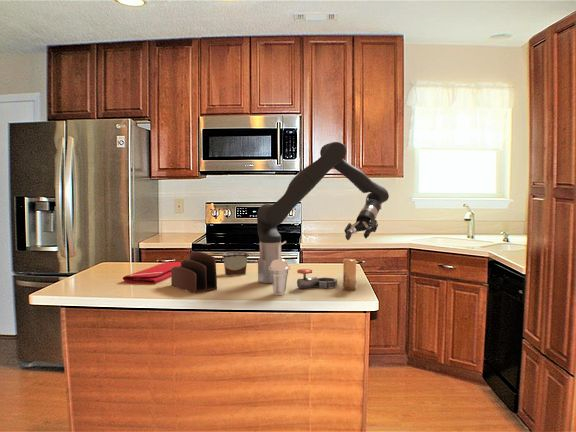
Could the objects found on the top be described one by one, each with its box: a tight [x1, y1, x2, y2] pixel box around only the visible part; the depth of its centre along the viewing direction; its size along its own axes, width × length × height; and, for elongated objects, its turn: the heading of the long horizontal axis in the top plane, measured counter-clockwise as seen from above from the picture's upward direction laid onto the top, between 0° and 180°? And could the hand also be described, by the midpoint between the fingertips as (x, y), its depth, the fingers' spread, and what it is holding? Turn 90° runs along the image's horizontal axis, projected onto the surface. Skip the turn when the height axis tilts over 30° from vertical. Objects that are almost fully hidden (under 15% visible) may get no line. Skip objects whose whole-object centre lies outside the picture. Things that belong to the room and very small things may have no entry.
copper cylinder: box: [342, 258, 357, 292], centre depth 199 cm, size 5×5×12 cm
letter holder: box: [170, 251, 218, 294], centre depth 203 cm, size 10×20×14 cm, turn 41°
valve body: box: [296, 268, 338, 290], centre depth 204 cm, size 18×9×7 cm, turn 116°
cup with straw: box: [268, 240, 291, 296], centre depth 192 cm, size 8×9×20 cm
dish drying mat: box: [122, 261, 181, 285], centre depth 231 cm, size 16×41×4 cm, turn 169°
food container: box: [222, 251, 249, 276], centre depth 232 cm, size 12×6×10 cm, turn 108°
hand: (356, 237), depth 213 cm, fingers open, 8 cm apart
